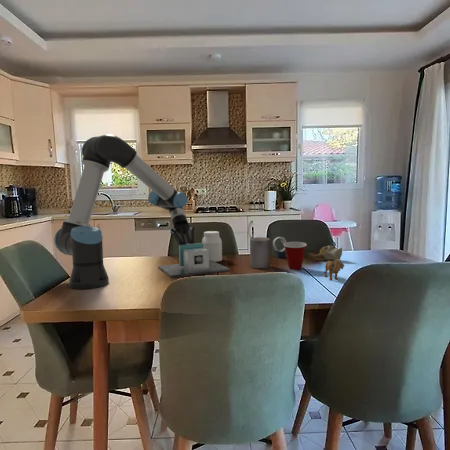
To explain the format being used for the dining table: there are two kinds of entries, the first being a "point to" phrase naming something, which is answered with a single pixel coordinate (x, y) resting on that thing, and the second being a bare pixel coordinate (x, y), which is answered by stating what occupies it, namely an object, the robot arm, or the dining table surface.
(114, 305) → the dining table surface
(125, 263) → the dining table surface
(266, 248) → the pillar candle
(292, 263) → the plastic cup
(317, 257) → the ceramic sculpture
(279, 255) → the watch
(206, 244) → the jar
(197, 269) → the block
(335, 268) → the lion figurine
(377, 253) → the dining table surface
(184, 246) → the teal piece
